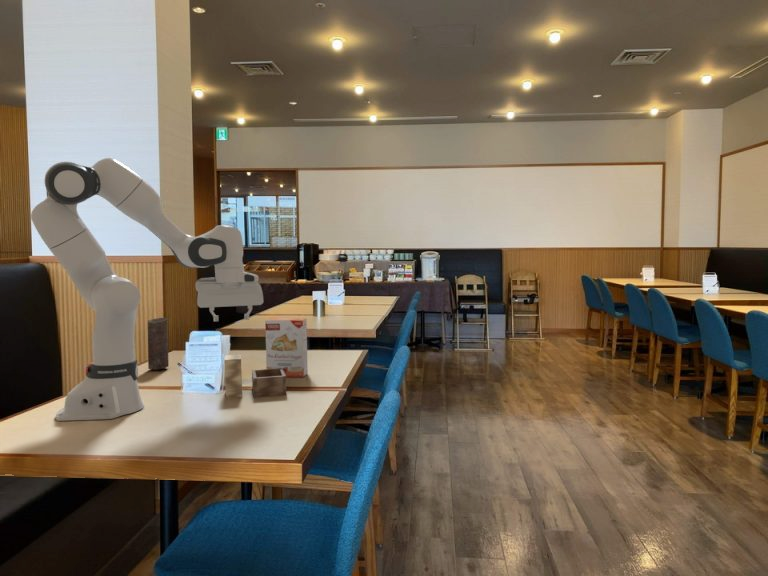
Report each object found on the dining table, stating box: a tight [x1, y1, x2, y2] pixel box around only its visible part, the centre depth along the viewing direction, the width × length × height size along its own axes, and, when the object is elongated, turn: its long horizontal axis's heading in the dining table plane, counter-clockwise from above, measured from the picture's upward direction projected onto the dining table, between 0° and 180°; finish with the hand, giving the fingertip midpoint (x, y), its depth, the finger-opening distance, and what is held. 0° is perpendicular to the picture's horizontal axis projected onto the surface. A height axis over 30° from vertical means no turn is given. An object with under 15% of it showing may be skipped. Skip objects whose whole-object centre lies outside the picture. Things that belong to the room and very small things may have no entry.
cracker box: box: [265, 317, 309, 378], centre depth 204 cm, size 14×6×21 cm, turn 83°
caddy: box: [251, 368, 287, 398], centre depth 182 cm, size 10×13×6 cm
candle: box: [147, 317, 170, 371], centre depth 218 cm, size 8×7×20 cm
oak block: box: [224, 353, 243, 399], centre depth 179 cm, size 5×8×12 cm, turn 15°
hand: (231, 320), depth 178 cm, fingers open, 8 cm apart
